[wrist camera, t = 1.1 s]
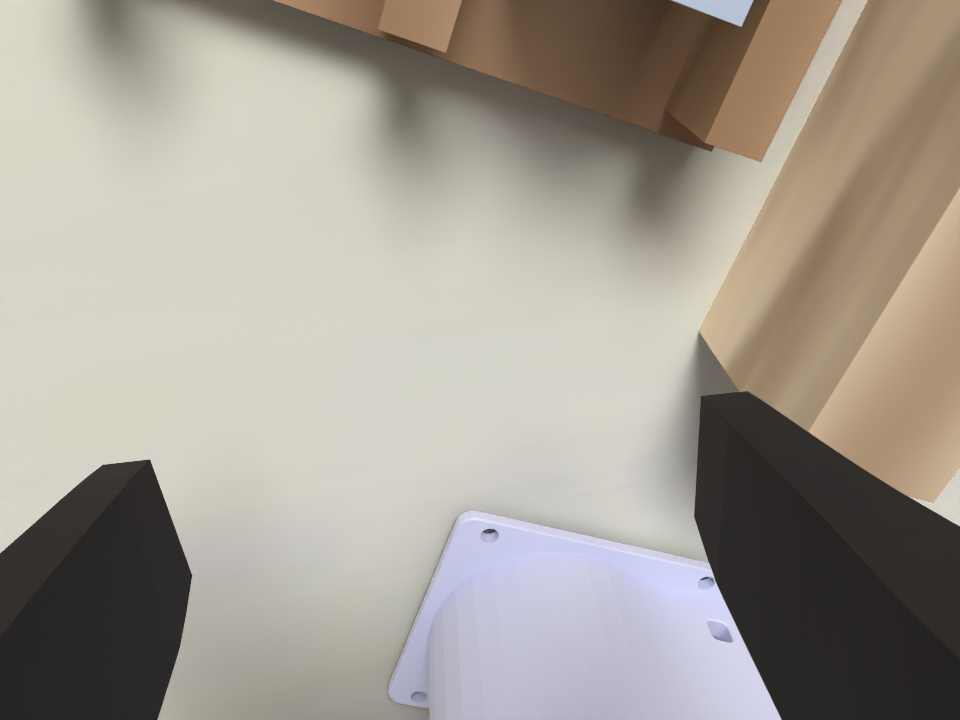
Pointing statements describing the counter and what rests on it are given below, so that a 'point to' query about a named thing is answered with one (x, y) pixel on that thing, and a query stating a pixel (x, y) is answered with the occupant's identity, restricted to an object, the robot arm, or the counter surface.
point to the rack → (621, 56)
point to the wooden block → (863, 258)
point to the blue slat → (721, 8)
